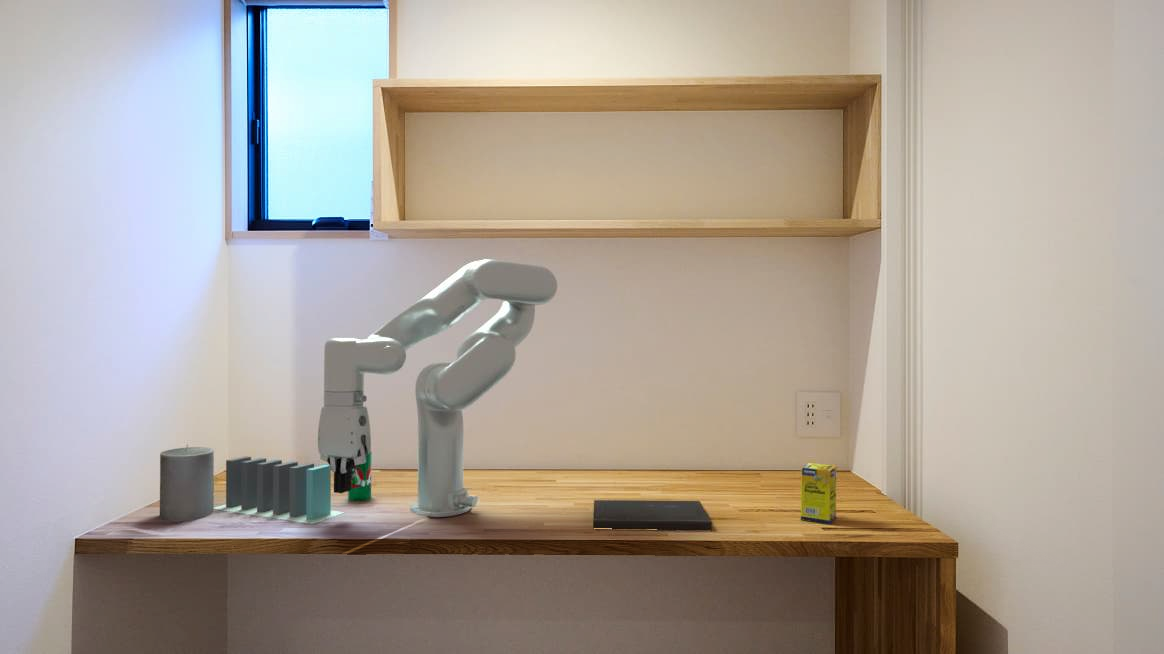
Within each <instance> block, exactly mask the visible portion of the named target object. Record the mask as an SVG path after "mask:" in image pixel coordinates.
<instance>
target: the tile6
mask: <svg viewBox="0 0 1164 654" xmlns="http://www.w3.org/2000/svg"><path fill="white" fill-rule="evenodd" d="M249 460H252V456H249V455H248V456H247V455H246V456H241V457H235V458H231V459H226V460H225V472H226V473H225V488H226V489H225V505H226V507H229V508H233V507H236V506H240V505H241V462H244V461H249Z"/></svg>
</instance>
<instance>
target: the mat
mask: <svg viewBox="0 0 1164 654" xmlns="http://www.w3.org/2000/svg"><path fill="white" fill-rule="evenodd" d="M213 510H217V511H218V510H219V511H224V512H225V511H226V512H231V513H236V514H243V515H250V516H257V517H264V518H270V519H276V520H283V521H284V520H285V521H291V522H296V523H304V524H309V525H314V524H317V523H319V522H322V521H326V520H329V519H331V518H334V517H336V516H340V515H342V514H346V513H345V512H342V511H337V510H331V514H329V515H326V516H323V517H320V518H317V519H314V520H309V519H306V514H305V515H302V516H299V517H296V518H295V517H290V512H287V513H284V514H281V515H275V514H273V510H270V511H266V512H263V513H262V512H257V507H256V508H253V509H249V510H242V509H241V505H240V506H236V507H233V508H229V507H226V504H223V505H219V506H215V507H213Z"/></svg>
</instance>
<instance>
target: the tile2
mask: <svg viewBox="0 0 1164 654" xmlns="http://www.w3.org/2000/svg"><path fill="white" fill-rule="evenodd" d="M314 467H315V463H311V462H307V463H303V464H298V466H294V467H290V517H295V518H296V517H299V516H302V515H305V514H306V479H307V469H310V468H314Z"/></svg>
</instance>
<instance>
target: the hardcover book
mask: <svg viewBox="0 0 1164 654" xmlns="http://www.w3.org/2000/svg"><path fill="white" fill-rule="evenodd" d="M592 521H593V523H592V524H593V528H612V529H657V530H656V531H677V530H713V526H712V525H713V523H712V519H711V518H710V516H709V515H708V513H707V511H706V509H705V507H704V506H703V504H702V503H701V500H645V499H644V500H640V499H639V500H638V499H636V500H629V499H628V500H626V499H621V500H619V499H609V500H608V499H594V500H593V520H592Z"/></svg>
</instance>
